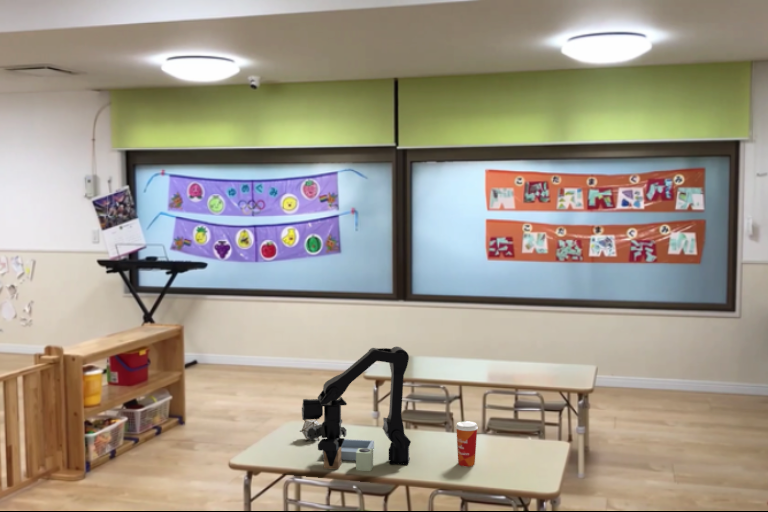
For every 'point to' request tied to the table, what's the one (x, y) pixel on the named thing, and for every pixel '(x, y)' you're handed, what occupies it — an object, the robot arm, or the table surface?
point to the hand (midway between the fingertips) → (332, 463)
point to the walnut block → (336, 463)
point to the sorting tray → (353, 448)
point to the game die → (308, 425)
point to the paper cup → (466, 443)
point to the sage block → (364, 459)
